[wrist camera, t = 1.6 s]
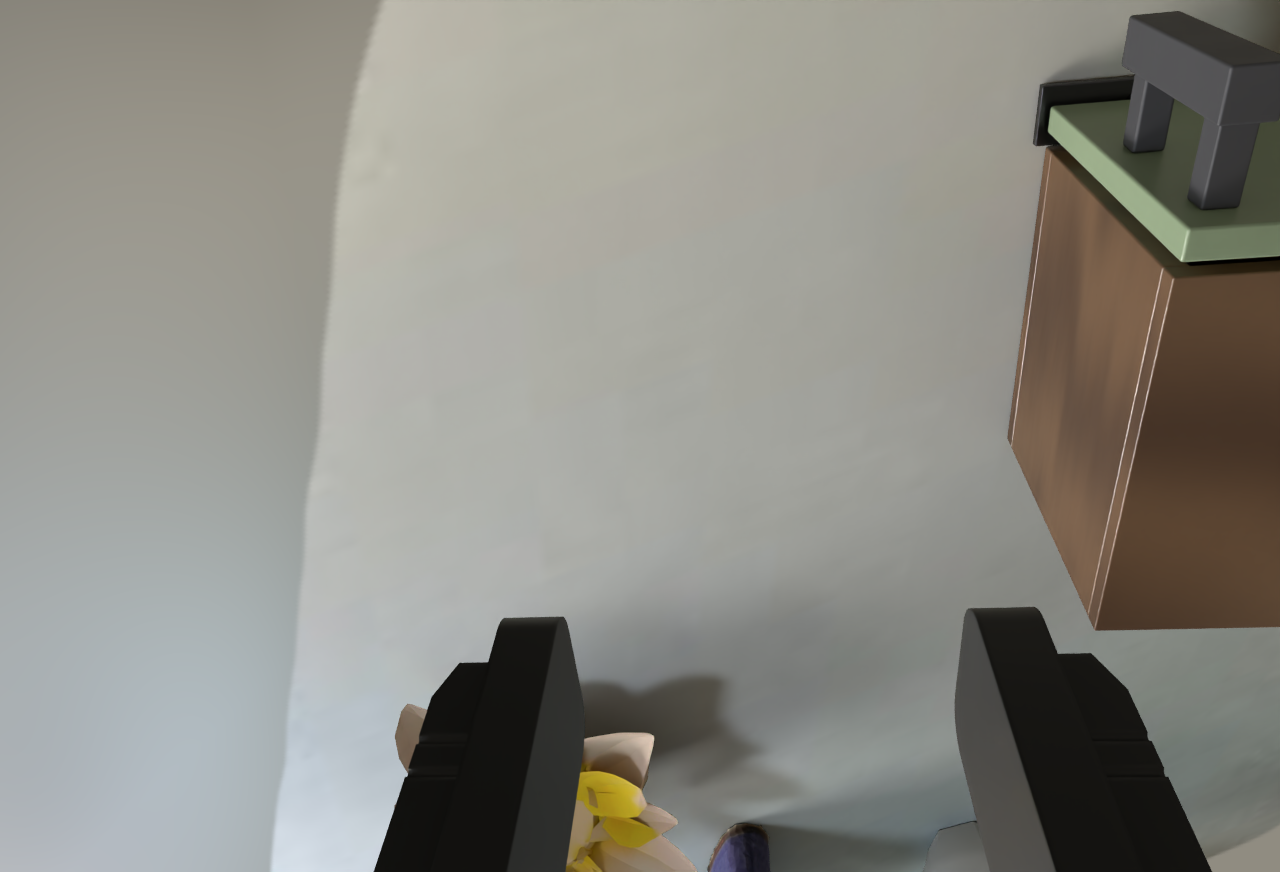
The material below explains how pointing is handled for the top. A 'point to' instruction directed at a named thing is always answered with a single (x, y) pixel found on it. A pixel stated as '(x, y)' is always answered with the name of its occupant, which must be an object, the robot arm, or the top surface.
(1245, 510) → the cabinet
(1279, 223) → the sliding door
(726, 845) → the flask
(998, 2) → the top surface
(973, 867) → the salt shaker
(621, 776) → the decorative flower
